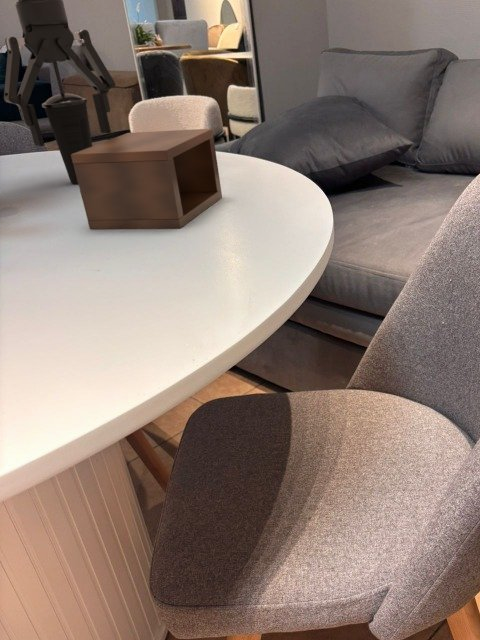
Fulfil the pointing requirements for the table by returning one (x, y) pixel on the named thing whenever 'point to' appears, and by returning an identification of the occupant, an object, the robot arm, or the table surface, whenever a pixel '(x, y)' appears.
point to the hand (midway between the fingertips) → (73, 139)
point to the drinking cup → (68, 124)
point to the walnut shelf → (148, 179)
